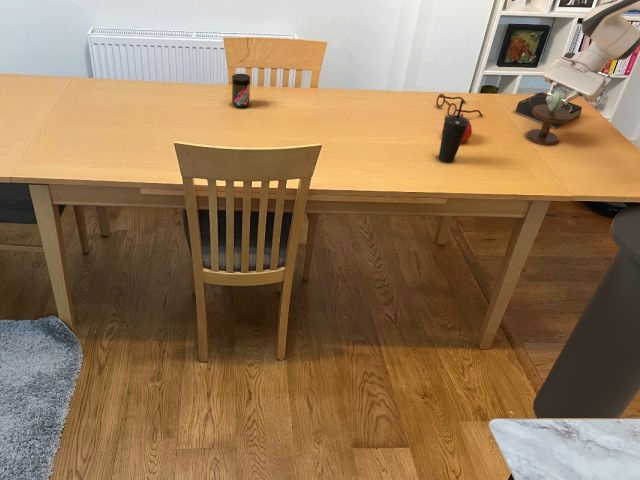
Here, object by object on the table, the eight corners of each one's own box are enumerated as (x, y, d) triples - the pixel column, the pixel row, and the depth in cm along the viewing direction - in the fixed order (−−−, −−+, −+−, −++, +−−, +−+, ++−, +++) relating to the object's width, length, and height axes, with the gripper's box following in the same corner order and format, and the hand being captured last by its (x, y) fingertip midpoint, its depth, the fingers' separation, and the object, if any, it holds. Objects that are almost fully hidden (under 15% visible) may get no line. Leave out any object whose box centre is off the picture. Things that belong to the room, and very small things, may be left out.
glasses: (434, 104, 224) (437, 92, 221) (464, 102, 227) (468, 89, 224) (451, 119, 215) (455, 106, 211) (482, 116, 217) (486, 103, 214)
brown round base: (567, 142, 204) (578, 115, 197) (543, 149, 199) (554, 121, 193) (539, 128, 212) (550, 101, 205) (516, 134, 207) (526, 107, 200)
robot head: (542, 113, 197) (549, 93, 193) (538, 108, 201) (545, 89, 196) (566, 114, 197) (573, 94, 193) (561, 109, 200) (569, 90, 196)
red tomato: (457, 130, 208) (465, 105, 202) (474, 143, 201) (482, 117, 195) (434, 134, 205) (440, 108, 199) (450, 147, 198) (457, 121, 192)
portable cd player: (556, 128, 212) (560, 118, 209) (515, 112, 222) (518, 102, 219) (579, 117, 220) (583, 107, 217) (538, 102, 230) (541, 92, 227)
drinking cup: (460, 165, 188) (478, 106, 175) (437, 164, 188) (453, 105, 175) (454, 154, 194) (471, 95, 181) (431, 153, 194) (446, 94, 181)
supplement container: (230, 107, 215) (230, 79, 208) (233, 100, 220) (233, 72, 213) (248, 109, 215) (249, 81, 208) (250, 102, 220) (251, 74, 213)
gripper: (616, 82, 189) (583, 116, 191) (564, 61, 202) (534, 93, 205) (613, 71, 184) (580, 106, 187) (560, 50, 197) (530, 83, 200)
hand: (555, 99), depth 196 cm, fingers closed on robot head, 4 cm apart
